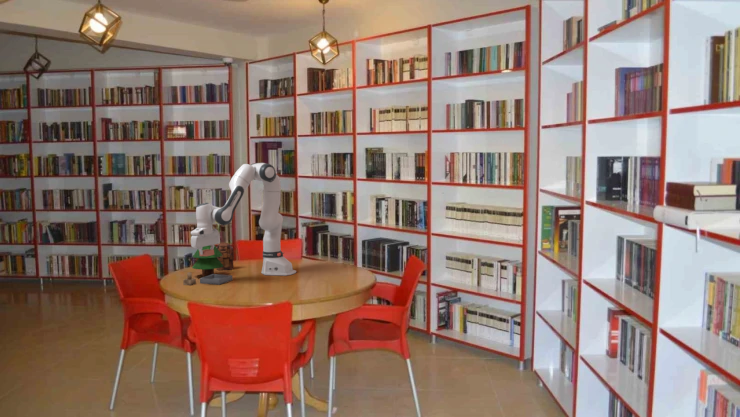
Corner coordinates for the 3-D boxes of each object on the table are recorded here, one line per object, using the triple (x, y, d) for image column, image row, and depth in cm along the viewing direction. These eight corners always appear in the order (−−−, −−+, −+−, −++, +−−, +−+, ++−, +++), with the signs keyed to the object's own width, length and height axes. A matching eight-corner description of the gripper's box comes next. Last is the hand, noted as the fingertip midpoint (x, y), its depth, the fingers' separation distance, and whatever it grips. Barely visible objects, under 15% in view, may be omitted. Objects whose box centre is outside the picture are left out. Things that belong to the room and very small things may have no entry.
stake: (195, 283, 359) (195, 272, 358) (190, 285, 354) (190, 273, 354) (188, 283, 361) (188, 271, 360) (183, 284, 356) (183, 273, 355)
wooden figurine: (215, 270, 400) (214, 243, 398) (216, 269, 406) (215, 242, 404) (233, 270, 401) (233, 243, 400) (234, 268, 408) (233, 241, 406)
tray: (232, 280, 368) (232, 275, 368) (219, 284, 355) (219, 279, 355) (213, 278, 372) (213, 274, 372) (200, 283, 360) (199, 278, 360)
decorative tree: (215, 279, 370) (213, 231, 367) (186, 278, 374) (185, 230, 371) (228, 273, 389) (227, 227, 386) (201, 272, 392) (199, 227, 390)
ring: (207, 254, 364) (206, 249, 364) (214, 254, 361) (213, 249, 361) (199, 256, 359) (199, 251, 359) (206, 256, 356) (206, 251, 356)
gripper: (213, 228, 369) (215, 250, 370) (188, 232, 352) (190, 256, 353) (221, 228, 366) (223, 250, 367) (196, 232, 349) (198, 256, 350)
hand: (206, 253), depth 360 cm, fingers closed on ring, 6 cm apart
